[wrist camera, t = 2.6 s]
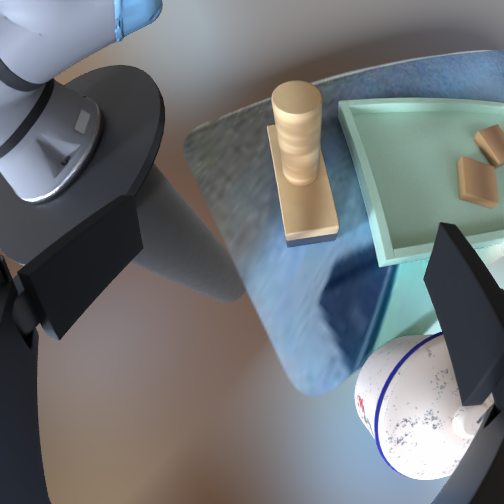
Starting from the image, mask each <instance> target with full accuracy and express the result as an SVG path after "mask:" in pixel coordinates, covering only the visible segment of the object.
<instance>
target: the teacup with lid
mask: <svg viewBox="0 0 504 504" xmlns="http://www.w3.org/2000/svg"><path fill="white" fill-rule="evenodd" d="M493 403H494V398H493V395H492V393H491V394H490V395H489V396H488V398H487V399H486V400H485V401H484V402H483V404H482V405H473V406H462V402H461V398H460V394H459V389H458V385H457V381H456V377H455V373H454V370H453V366H452V362H451V359H450V355H449V352H448V348H447V345H446V342H445V339H444V335H443V332H439V333H437V334H434V335H408V336H402V337H398V338H395V339H392V340H390V341H388V342H386V343H385V344H383V345H382V346H380V347H379V348H378V349H377V350H375V351H374V352H373V353H372V354H371V356H370V357H369V358H368V359H367V361H366V362H365V364H364V365H363V367H362V369H361V371H360V373H359V376H358V379H357V383H356V387H355V404H356V408H357V411H358V414H359V416H360V418H361V420H362V421H363V423H364V424H365V426H366V427H367V429H368V430H369V431H370V433H371V434H372V436H373V437H374V438H375V440H376V444H377V447H378V450H379V452H380V454H381V456H382V457H383V459H384V460H385V462H386V463H387V464H388V465H389V466H390V467H391V468H392V469H393V470H395V471H396V472H398V473H400V474H402V475H404V476H407V477H411V478H415V479H422V480H430V479H437V478H442V477H446V476H448V475H451V474H453V472H454V470H455V469H456V467H457V466H458V464H459V463H460V461H461V459H462V458H463V456H464V454H465V453H466V451H467V449H468V447H469V446H470V444H471V442H472V440H473V438H474V437H475V435H476V433H477V431H478V429H479V427H480V425H481V423H482V421H483V420H482V421H481V422H480V423H479V424H478V423H476V422H477V421H478V420H479V418H480V417H481V416H482V415H483V414H484V413H485V412H486V411H487V410H488V408H489V407H490V406H491V405H492V404H493Z"/></svg>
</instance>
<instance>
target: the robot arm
mask: <svg viewBox="0 0 504 504" xmlns="http://www.w3.org/2000/svg"><path fill="white" fill-rule="evenodd" d="M162 5H163V4H162V0H0V172H1V173H2V175H3V176H4V178H5V179H6V180H7V181H8V183H9V184H10V185H11V187H12V188H13V190H14V192H15V193H16V194H17V195H18V196H19V197H20V198H22V199H23V200H25V201H27V202H28V203H30V204H33V205H41V204H45V203H48V202H51V201H53V200H54V199H56V198H58V197H59V196H61V195H62V194H63V193H64V192H66V191H67V190H68V189H69V188H70V187H71V186H72V185H73V184H74V183H75V182H76V181H77V180H78V179H79V177H80V176H81V175H82V174H83V172H84V171H85V170H86V168H87V167H88V165H89V164H90V162H91V161H92V159H93V157H94V155H95V154H96V152H97V150H98V147H99V145H100V142H101V140H102V137H103V133H104V127H105V118H104V114H103V112H102V110H101V109H100V107H99V106H98V105H97V104H96V103H95V101H94V100H93V99H91V98H89V97H88V96H85V95H83V94H79V93H77V92H75V91H73V90H72V89H70V88H68V87H66V86H64V85H62V84H60V83H58V82H57V81H56V80H55V79H54V77H55V76H57V75H58V74H60V73H61V72H63V71H65V70H66V69H67V68H69V67H71V66H73V65H74V64H76V63H78V62H79V61H81V60H83V59H84V58H86V57H88V56H90V55H91V54H93V53H95V52H97V51H99V50H100V49H102V48H104V47H106V46H108V45H110V44H112V43H114V42H116V41H117V42H120V41H122V39H123V38H124V37H125V36H127V35H129V34H130V33H133V32H135V31H137V30H139V29H141V28H143V27H145V26H147V25H149V24H151V23H152V22H154V21H155V20H156V19H157V18H158V16H159V15H160V13H161V11H162ZM142 249H143V244H142V239H141V233H140V228H139V222H138V216H137V210H136V204H135V198H134V195H120V196H119V197H117V198H116V199H114V200H112V201H111V202H109V203H108V204H107V205H105V206H104V207H102V208H101V209H99V210H98V211H96V212H95V213H93V214H92V215H90V216H89V217H88V218H86V219H85V220H83V221H82V222H81V223H79V224H78V225H76V226H75V227H74V228H72V229H71V230H70V231H68V232H67V233H66V234H64V235H63V236H62V237H60V238H59V239H58V240H56V241H55V242H54V243H52V244H51V245H50V246H49V247H47V248H46V249H45V250H43V251H42V252H41V253H40V254H38V255H37V256H36V257H35V258H33V259H32V260H31V261H30V262H29V263H27V264H26V265H25V266H24V267H23V268H21V269H20V270H19V271H18V272H17V273H18V274H17V275H16V276H15V277H14V278H13V279H12V277H11V274H10V272H9V269H8V267H7V264H6V262H5V259H4V257H3V256H2V255H0V504H51V502H50V500H49V497H48V492H47V487H46V482H45V476H44V470H43V463H42V455H41V446H40V436H39V424H38V405H37V359H38V357H37V356H38V340H39V335H38V331H37V330H36V328H35V327H36V326H37V325H38V324H39V323H41V325H42V328H43V329H44V331H45V333H46V335H48V336H50V337H52V338H55V339H57V340H60V339H61V338H62V337H63V336H64V335H65V333H66V332H67V331H68V330H69V329H70V328H71V326H72V325H73V324H74V323H75V322H76V321H77V319H78V318H79V317H80V316H81V315H82V314H83V313H84V311H85V310H86V309H87V308H88V307H89V306H90V305H91V304H92V302H93V301H94V300H95V299H96V298H97V297H98V296H99V295H100V294H101V292H102V291H103V290H104V289H105V288H106V287H107V286H108V285H109V284H110V283H111V281H112V280H113V279H114V278H115V277H116V276H117V275H118V274H119V273H120V272H121V271H122V270H123V269H124V267H126V266H127V265H128V264H129V262H130V261H131V260H132V259H133V258H134V257H135V256H136V255H137V254H138V253H139V252H140V251H141V250H142ZM424 282H425V284H426V287H427V289H428V292H429V295H430V297H431V300H432V303H433V306H434V309H435V311H436V314H437V317H438V320H439V323H440V326H441V329H442V332H443V335H444V339H445V342H446V345H447V348H448V352H449V355H450V359H451V362H452V366H453V370H454V373H455V377H456V381H457V385H458V389H459V394H460V398H461V402H462V406H473V405H482V404H483V402H484V401H485V400H486V399H487V398H488V396H489V395H490V394H491V393H492V395H493V398H494V403H493V404H492V405H491V406H490V407H489V408H488V410H487V411H486V412H485V413H484V414H483V415H482V416H481V417H480V418H479V420H478V421H477V422H476V423H478V424H479V423H480V422H481V421H482V420H483V421H482V423H481V425H480V427H479V429H478V431H477V433H476V435H475V437H474V438H473V440H472V442H471V444H470V446H469V447H468V449H467V451H466V453H465V454H464V456H463V458H462V459H461V461H460V463H459V464H458V466H457V467H456V469H455V470H454V472H453V474H452V475H451V477H450V478H449V480H448V481H447V483H446V484H445V485H444V487H443V488H442V490H441V491H440V493H439V494H438V495H437V497H436V498H435V499H434V501H433V502H432V503H431V504H504V290H503V289H500V288H499V286H498V284H497V283H496V281H495V280H494V278H493V276H492V275H491V273H490V272H489V270H488V269H487V267H486V266H485V264H484V263H483V261H482V260H481V259H480V257H479V256H478V254H477V253H476V251H475V250H474V249H473V247H472V246H471V244H470V243H469V242H468V240H467V239H466V238H465V236H464V235H463V234H462V232H461V231H460V230H459V228H458V227H457V226H456V225H455V224H450V223H443V222H440V223H439V227H438V231H437V235H436V239H435V242H434V246H433V249H432V253H431V256H430V260H429V263H428V266H427V269H426V272H425V276H424Z"/></svg>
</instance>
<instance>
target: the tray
mask: <svg viewBox="0 0 504 504" xmlns="http://www.w3.org/2000/svg"><path fill="white" fill-rule="evenodd" d="M338 118H339V121H340V124H341V127H342V130H343V133H344V136H345V139H346V142H347V145H348V148H349V151H350V155H351V158H352V161H353V164H354V168H355V171H356V175H357V178H358V182H359V185H360V189H361V192H362V196H363V200H364V204H365V208H366V211H367V215H368V220H369V224H370V228H371V232H372V236H373V241H374V245H375V250H376V255H377V259H378V264H379V267H383V266H389V265H394V264H400V263H405V262H411V261H416V260H422V259H427V258H430V256H431V253H432V249H433V246H434V242H435V239H436V235H437V231H438V227H439V223H440V222H443V223H450V224H455V225H456V226H457V227H458V228H459V230H460V231H461V232H462V234H463V235H464V236H465V238H466V239H467V240H468V242H469V243H470V244H471V246H472V247H473V249H477V248H482V247H487V246H491V245H496V244H501V243H504V165H502V166H500V167H498V168H496V169H495V175H496V183H497V191H498V201H499V203H498V204H497V205H496V206H495V207H493V208H492V209H490V208H486V207H483V206H480V205H477V204H473V203H470V202H466V201H463V200H460V199H459V192H458V176H457V162H458V161H459V159H460V158H461V157H462V156H465V157H468V158H471V159H474V160H477V161H480V162H483V163H485V164H488V165H490V163H489V162H488V160H487V159H486V157H485V156H484V154H483V153H482V151H481V150H480V148H479V147H478V145H477V144H476V143H475V141H474V140H473V137H474V136H475V135H476V133H477V132H478V131H479V130H482V129H485V128H488V127H491V126H494V125H496V124H498V125H499V126H500V128H501V129H502V130H503V132H504V103H502V102H493V101H483V100H470V99H454V98H377V99H359V100H345V101H339V106H338Z"/></svg>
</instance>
